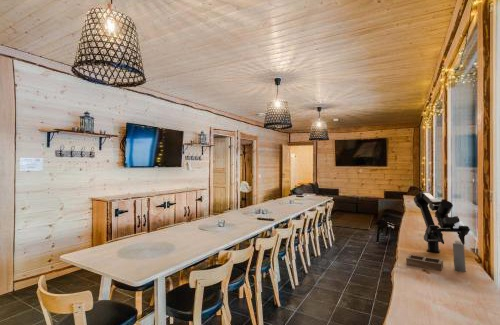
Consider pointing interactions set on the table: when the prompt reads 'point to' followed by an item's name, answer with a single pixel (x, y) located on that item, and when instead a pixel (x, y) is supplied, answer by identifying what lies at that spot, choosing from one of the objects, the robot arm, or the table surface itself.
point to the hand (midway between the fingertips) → (453, 244)
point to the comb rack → (425, 262)
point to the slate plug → (459, 256)
